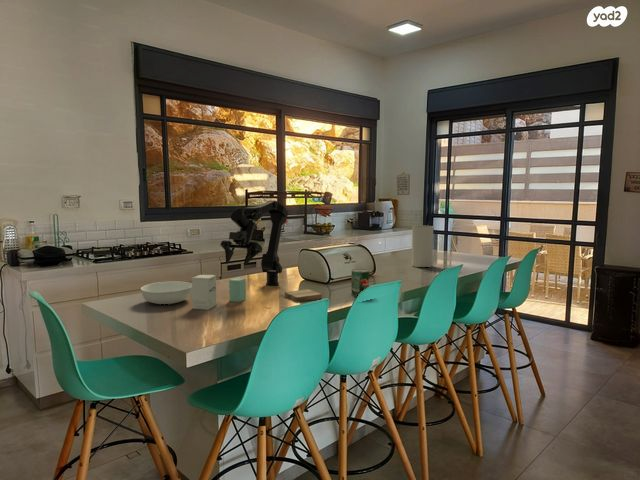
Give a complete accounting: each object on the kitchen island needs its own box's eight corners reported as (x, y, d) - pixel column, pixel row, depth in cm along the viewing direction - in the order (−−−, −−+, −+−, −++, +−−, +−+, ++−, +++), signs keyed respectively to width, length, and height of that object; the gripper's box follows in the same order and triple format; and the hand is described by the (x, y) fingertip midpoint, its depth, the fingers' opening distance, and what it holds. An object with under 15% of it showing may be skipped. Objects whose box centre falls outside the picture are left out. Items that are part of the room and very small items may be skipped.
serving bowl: (129, 305, 182) (129, 289, 182) (165, 294, 202) (164, 279, 201) (171, 310, 175) (170, 293, 174) (203, 298, 194) (203, 283, 193)
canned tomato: (352, 292, 206) (352, 268, 205) (369, 292, 205) (369, 269, 204) (350, 295, 199) (350, 271, 198) (368, 296, 197) (368, 272, 196)
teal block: (235, 298, 195) (235, 277, 194) (245, 299, 193) (245, 278, 192) (229, 300, 190) (229, 280, 189) (240, 301, 188) (239, 280, 187)
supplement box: (209, 309, 175) (208, 278, 174) (191, 309, 177) (190, 277, 176) (217, 305, 183) (216, 274, 181) (200, 304, 184) (199, 274, 183)
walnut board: (284, 297, 198) (284, 292, 198) (308, 294, 204) (308, 289, 204) (297, 303, 188) (297, 297, 187) (321, 299, 194) (321, 294, 193)
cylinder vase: (431, 268, 269) (432, 227, 267) (410, 267, 274) (410, 226, 271) (433, 265, 281) (434, 225, 278) (413, 264, 285) (414, 225, 283)
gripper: (219, 223, 197) (207, 255, 191) (255, 224, 189) (244, 257, 183) (232, 234, 206) (221, 265, 200) (267, 236, 199) (257, 268, 192)
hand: (235, 264), depth 193 cm, fingers open, 9 cm apart
